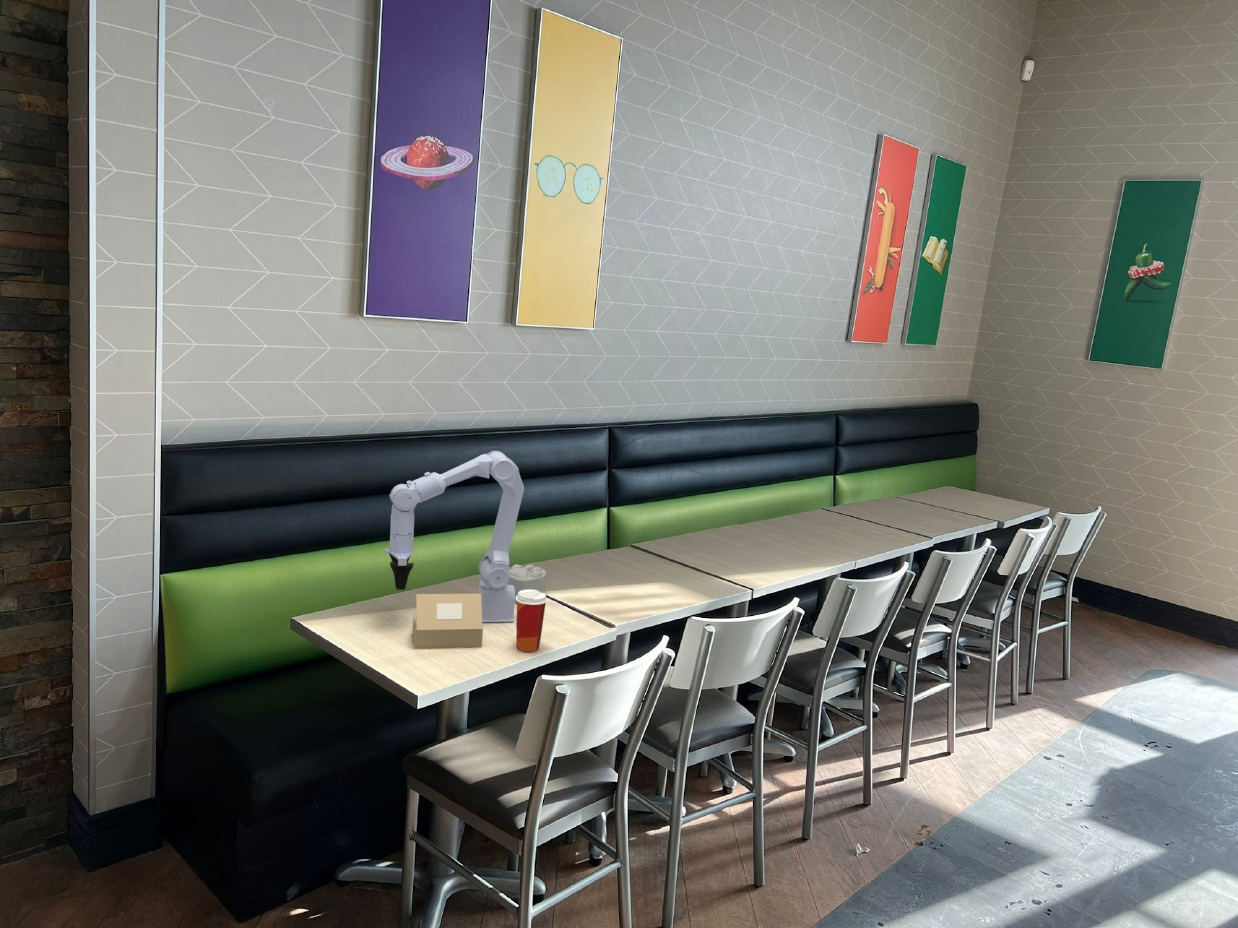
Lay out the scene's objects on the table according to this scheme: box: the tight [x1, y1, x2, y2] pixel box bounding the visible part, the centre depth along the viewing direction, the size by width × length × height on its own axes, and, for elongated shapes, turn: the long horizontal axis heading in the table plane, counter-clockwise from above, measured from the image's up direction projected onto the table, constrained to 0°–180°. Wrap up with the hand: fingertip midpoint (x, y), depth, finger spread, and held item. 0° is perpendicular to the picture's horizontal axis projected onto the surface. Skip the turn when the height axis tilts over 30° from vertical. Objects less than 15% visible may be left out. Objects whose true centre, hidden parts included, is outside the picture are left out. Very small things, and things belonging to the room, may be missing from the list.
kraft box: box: [411, 616, 484, 649], centre depth 224 cm, size 16×9×4 cm, turn 106°
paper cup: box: [515, 590, 548, 654], centre depth 223 cm, size 8×8×14 cm
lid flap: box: [415, 593, 483, 631], centre depth 221 cm, size 16×9×1 cm
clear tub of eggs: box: [507, 563, 547, 605], centre depth 260 cm, size 10×13×9 cm
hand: (399, 584), depth 231 cm, fingers open, 7 cm apart
